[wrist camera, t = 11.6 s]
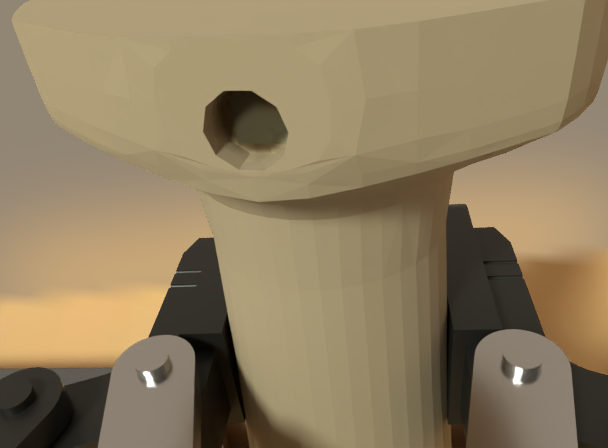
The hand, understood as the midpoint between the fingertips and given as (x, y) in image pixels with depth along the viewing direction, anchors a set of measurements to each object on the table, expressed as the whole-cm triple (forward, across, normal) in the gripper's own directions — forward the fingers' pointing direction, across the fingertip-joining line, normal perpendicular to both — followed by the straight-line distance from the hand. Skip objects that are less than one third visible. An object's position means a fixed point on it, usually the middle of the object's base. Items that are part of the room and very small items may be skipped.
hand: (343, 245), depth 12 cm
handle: (-3, 0, +9) cm, 10 cm away
